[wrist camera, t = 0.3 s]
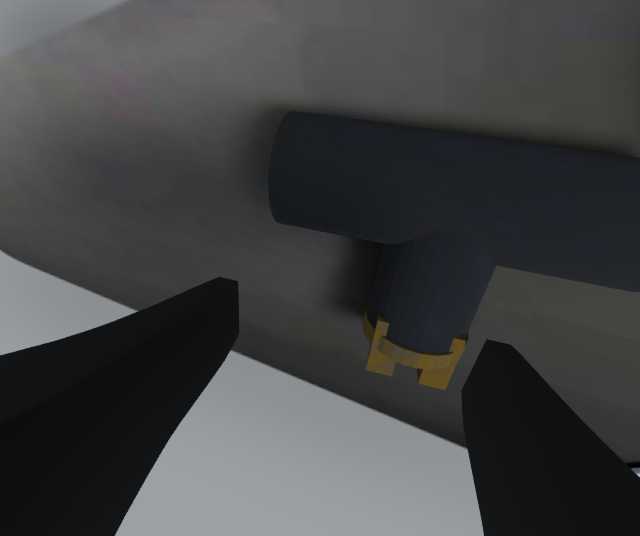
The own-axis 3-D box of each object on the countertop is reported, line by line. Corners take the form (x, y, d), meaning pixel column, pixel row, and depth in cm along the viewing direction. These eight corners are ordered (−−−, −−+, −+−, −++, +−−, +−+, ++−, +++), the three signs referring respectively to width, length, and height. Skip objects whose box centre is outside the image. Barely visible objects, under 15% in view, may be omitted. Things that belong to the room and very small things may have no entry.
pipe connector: (570, 433, 14) (261, 352, 17) (530, 354, 19) (292, 299, 21) (767, 180, 9) (269, 111, 11) (644, 155, 14) (308, 110, 16)
